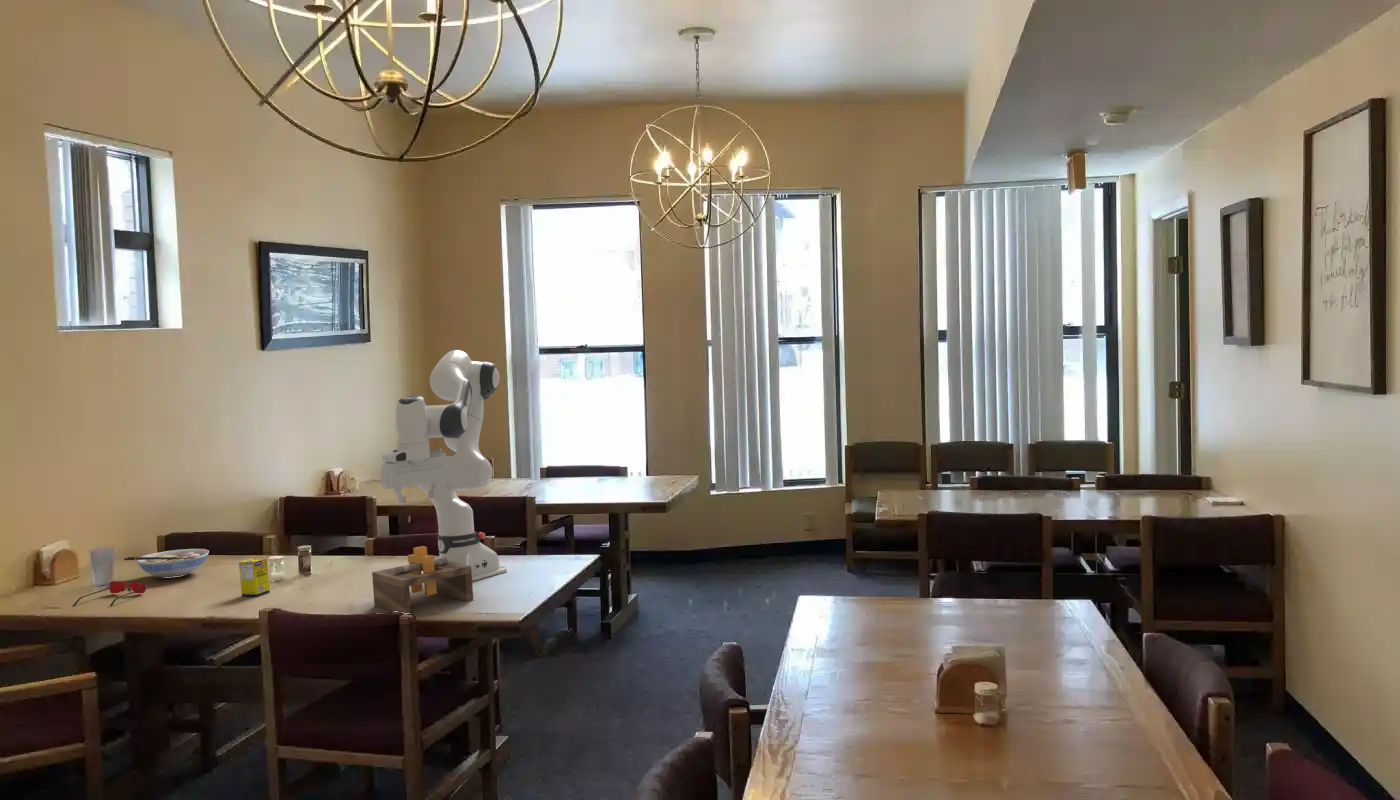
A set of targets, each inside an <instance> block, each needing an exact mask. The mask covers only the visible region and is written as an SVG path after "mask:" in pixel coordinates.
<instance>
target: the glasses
mask: <svg viewBox="0 0 1400 800" xmlns="http://www.w3.org/2000/svg"><path fill="white" fill-rule="evenodd" d="M126 583H129V584H128V588H127V591H128V593H126V594H123V595H120V596H119V595H118V596H117V597H115V598H114V599H113V600H112V602H111V603H110V604H109V606H111V607H112V606H113V605H114V603H115V602H116V601H117V600H118V599H119V598H122V597H125V596H128V595H131V594H136V593H142V594H144V593H145V592H146V590H147V589H148V586H146V585H145V584H144V582H143V581H139V580H138V581H137V580H132V581H131V580H129V581H128V580H125V581H124V580H113V581H110V583H109V584H108V587H107V588H104V589H101V590H98V591H95V592H92V593H89V594H86V595H83V596H80V597H79V598H78V599H77V600H76V601H75V602H74V604H73V605H71V607H72V608H74V607H75V606H76V605H77V604H78V603H79V602H80V600H81V599H83V598H85V597H88V596H92V595H94V594H98V593H101V592H105V591H107V590H109V592H110V593H111V594H112V593H117V594H118V593H121V592H122V593H123V592H124V591H126ZM73 606H74V607H73Z"/></svg>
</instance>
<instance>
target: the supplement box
mask: <svg viewBox="0 0 1400 800" xmlns="http://www.w3.org/2000/svg"><path fill="white" fill-rule="evenodd" d="M268 565H269V564H268V558H263V557H262V558H259V557H251V558H247V559H244V560H240V561H239V562H238V568H239V578H240V579H239V580H240V592H241V593H240V594H241V596H242V595H244V596H243V597H255V596H257V597H259V595H260V596H263V595H265V594H270V591H271V589H270V579H269V578H270V577H269V566H268Z"/></svg>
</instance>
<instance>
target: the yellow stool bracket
mask: <svg viewBox="0 0 1400 800" xmlns="http://www.w3.org/2000/svg"><path fill="white" fill-rule="evenodd" d="M407 561H408V565H410V564H415V563H419V564H423V571H421V569H420V570H415V571H411V572H413V573H416V574H424V573H429V572H433V571H435V568H434V563H435V555H432V554H428V547H427V546H424V545H421V546H416V547H413V553H412V554H407ZM423 584H424V589H423ZM410 588H411V589H410V592H411V593H413V594H415V593H420V592H423V591H424V595H425V596H431V595H435V594H438V593H437V591H436V581H431V582H426V583H422V584H417V585H412V586H410Z"/></svg>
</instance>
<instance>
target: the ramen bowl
mask: <svg viewBox="0 0 1400 800" xmlns="http://www.w3.org/2000/svg"><path fill="white" fill-rule="evenodd" d="M209 553H210V550H208V549H206V548H205V549H204V548H187V549H183V548H182V549H175V550H174V549H172V550H166V551H160V552H154V553H150V554H146V555H142V556H140V557H139V556H128V557H125V558H123V560H124V561H135V562H136V564H137V565H138V566H139V567H140V569H142V570H143V572H145V573H146V574H148V575H151V576H154V577H159V578H162V577H173V576H181V575H185V574H187V575H189V574H190V573H193V572H194V571H196V570H198V569H199V568H200V567H201V566H202V565H203V564H204V563H205V561H206V559H207V558H208V555H209Z"/></svg>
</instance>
